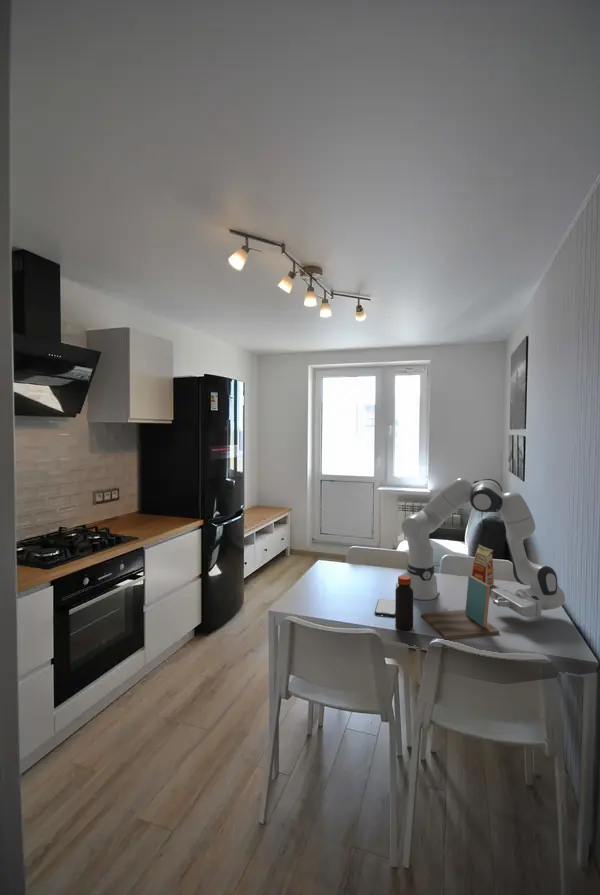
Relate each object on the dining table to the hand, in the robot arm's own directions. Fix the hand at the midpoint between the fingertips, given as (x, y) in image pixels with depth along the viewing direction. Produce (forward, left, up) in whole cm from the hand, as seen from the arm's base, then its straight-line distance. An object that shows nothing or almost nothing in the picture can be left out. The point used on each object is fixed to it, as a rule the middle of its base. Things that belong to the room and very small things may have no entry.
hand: (495, 602), depth 172 cm
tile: (0, -10, -7) cm, 12 cm away
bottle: (-3, -38, -8) cm, 39 cm away
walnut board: (-1, -16, -8) cm, 18 cm away
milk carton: (-38, +20, -8) cm, 44 cm away
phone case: (-21, -38, -9) cm, 44 cm away
